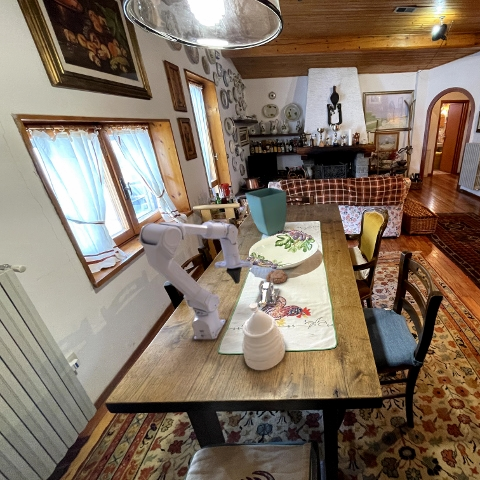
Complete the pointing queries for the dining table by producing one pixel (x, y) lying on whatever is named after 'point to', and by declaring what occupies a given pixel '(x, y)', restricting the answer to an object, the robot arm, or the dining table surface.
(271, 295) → the bracket
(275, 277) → the cookie
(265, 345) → the honey pot
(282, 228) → the flower pot
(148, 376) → the dining table surface
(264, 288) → the tap lever
